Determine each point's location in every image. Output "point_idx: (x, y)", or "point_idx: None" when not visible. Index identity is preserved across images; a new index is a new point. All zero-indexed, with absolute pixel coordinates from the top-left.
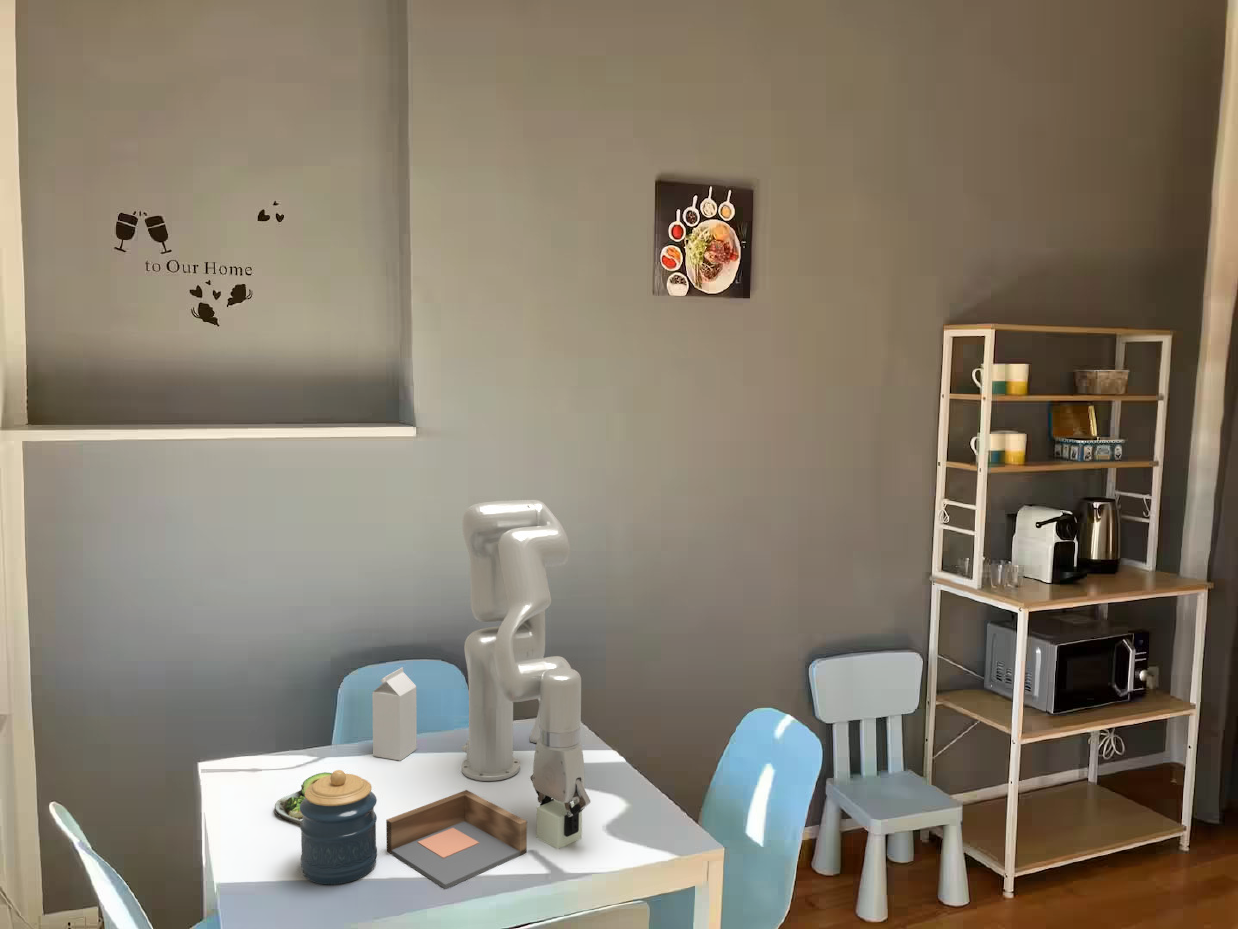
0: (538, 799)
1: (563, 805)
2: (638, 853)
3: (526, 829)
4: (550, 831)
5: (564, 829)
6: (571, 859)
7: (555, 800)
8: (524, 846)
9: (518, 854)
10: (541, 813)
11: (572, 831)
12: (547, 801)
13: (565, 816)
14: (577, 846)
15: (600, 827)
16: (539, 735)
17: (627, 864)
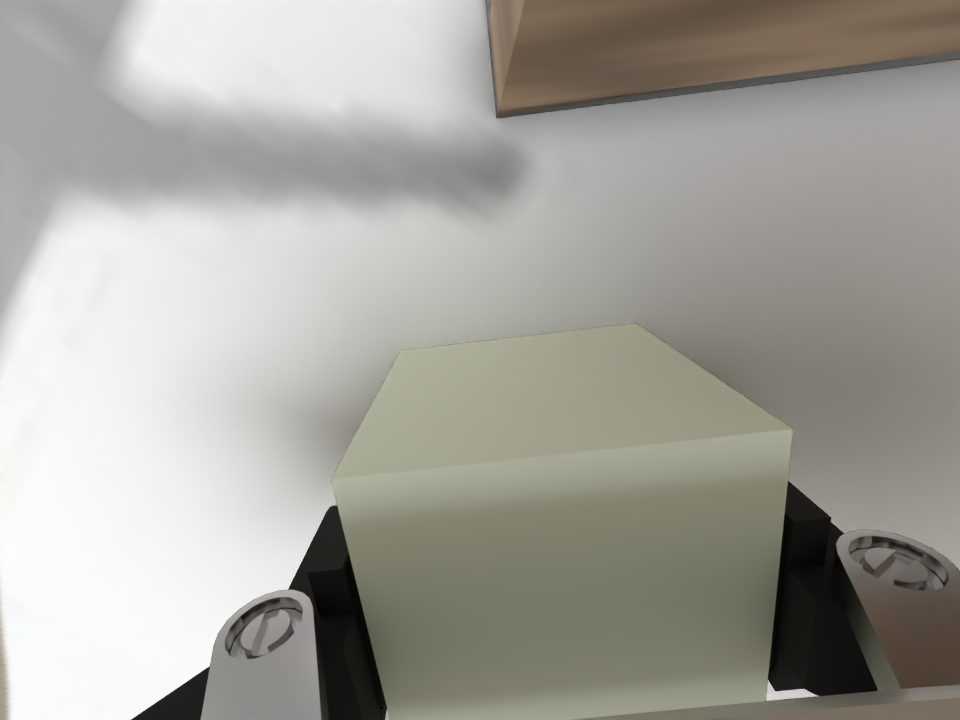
0: (924, 556)
1: (584, 690)
2: (105, 671)
3: (513, 45)
4: (485, 377)
5: None
6: (223, 343)
7: (749, 689)
8: (497, 74)
9: (487, 8)
10: (663, 417)
11: (331, 508)
12: (795, 614)
13: (324, 571)
14: None
15: None
16: None
17: (9, 568)
